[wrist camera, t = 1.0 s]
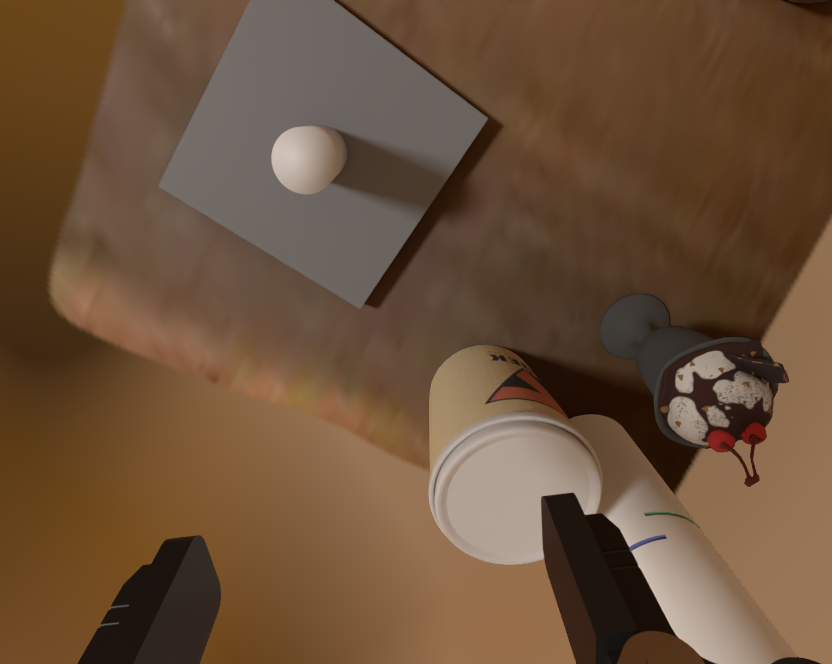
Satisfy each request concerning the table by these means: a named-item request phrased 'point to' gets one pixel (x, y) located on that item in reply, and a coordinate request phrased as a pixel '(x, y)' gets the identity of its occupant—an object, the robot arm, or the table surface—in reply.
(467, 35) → the table surface
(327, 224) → the base
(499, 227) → the table surface
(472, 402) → the coffee cup
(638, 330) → the sundae
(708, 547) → the cylindrical container
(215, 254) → the table surface
